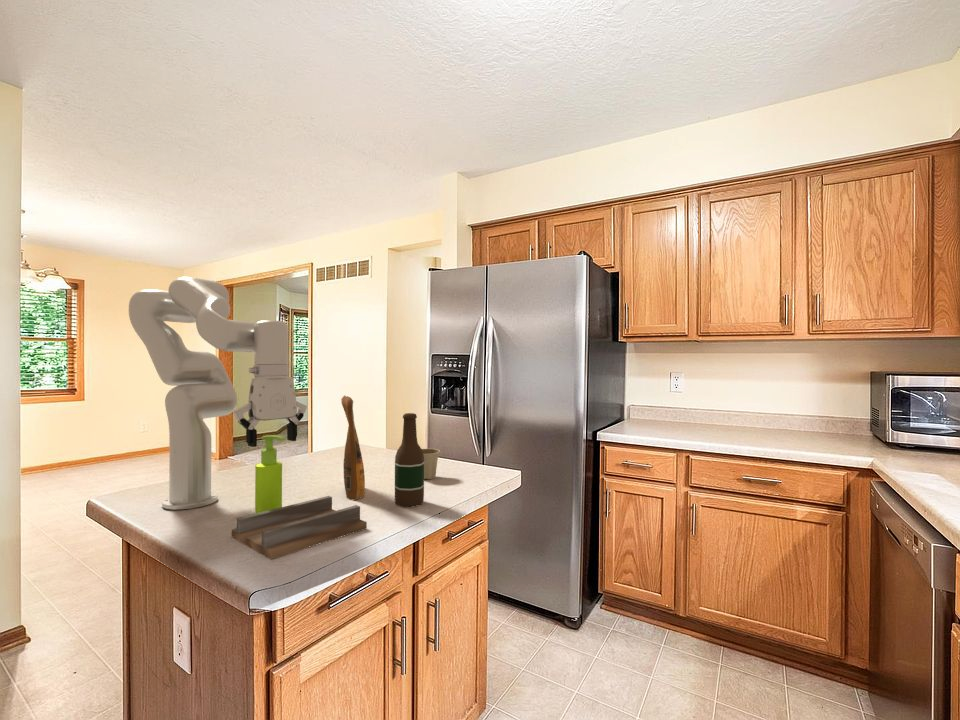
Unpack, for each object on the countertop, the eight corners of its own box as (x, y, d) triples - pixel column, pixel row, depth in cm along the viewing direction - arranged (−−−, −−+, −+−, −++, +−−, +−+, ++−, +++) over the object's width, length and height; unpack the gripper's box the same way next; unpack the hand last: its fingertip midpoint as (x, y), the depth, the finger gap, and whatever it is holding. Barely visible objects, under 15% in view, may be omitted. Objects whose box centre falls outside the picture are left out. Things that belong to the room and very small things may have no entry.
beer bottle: (411, 509, 121) (411, 416, 121) (388, 504, 125) (388, 414, 125) (429, 502, 127) (430, 413, 127) (407, 497, 131) (408, 411, 131)
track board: (231, 536, 102) (231, 515, 102) (323, 511, 119) (323, 493, 119) (271, 559, 90) (271, 535, 90) (366, 528, 107) (366, 508, 107)
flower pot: (407, 480, 150) (407, 453, 150) (416, 473, 159) (416, 448, 159) (435, 481, 148) (436, 454, 148) (443, 474, 158) (443, 449, 158)
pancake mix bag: (339, 503, 126) (340, 398, 126) (340, 485, 144) (341, 393, 144) (365, 501, 127) (366, 398, 128) (363, 483, 146) (364, 393, 146)
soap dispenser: (275, 523, 110) (276, 438, 110) (249, 521, 111) (250, 436, 111) (290, 515, 115) (291, 434, 116) (265, 513, 117) (266, 433, 117)
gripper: (241, 373, 104) (242, 450, 104) (313, 371, 117) (313, 440, 117) (227, 373, 109) (228, 447, 109) (297, 371, 122) (298, 437, 122)
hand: (272, 443), depth 113 cm, fingers open, 9 cm apart
